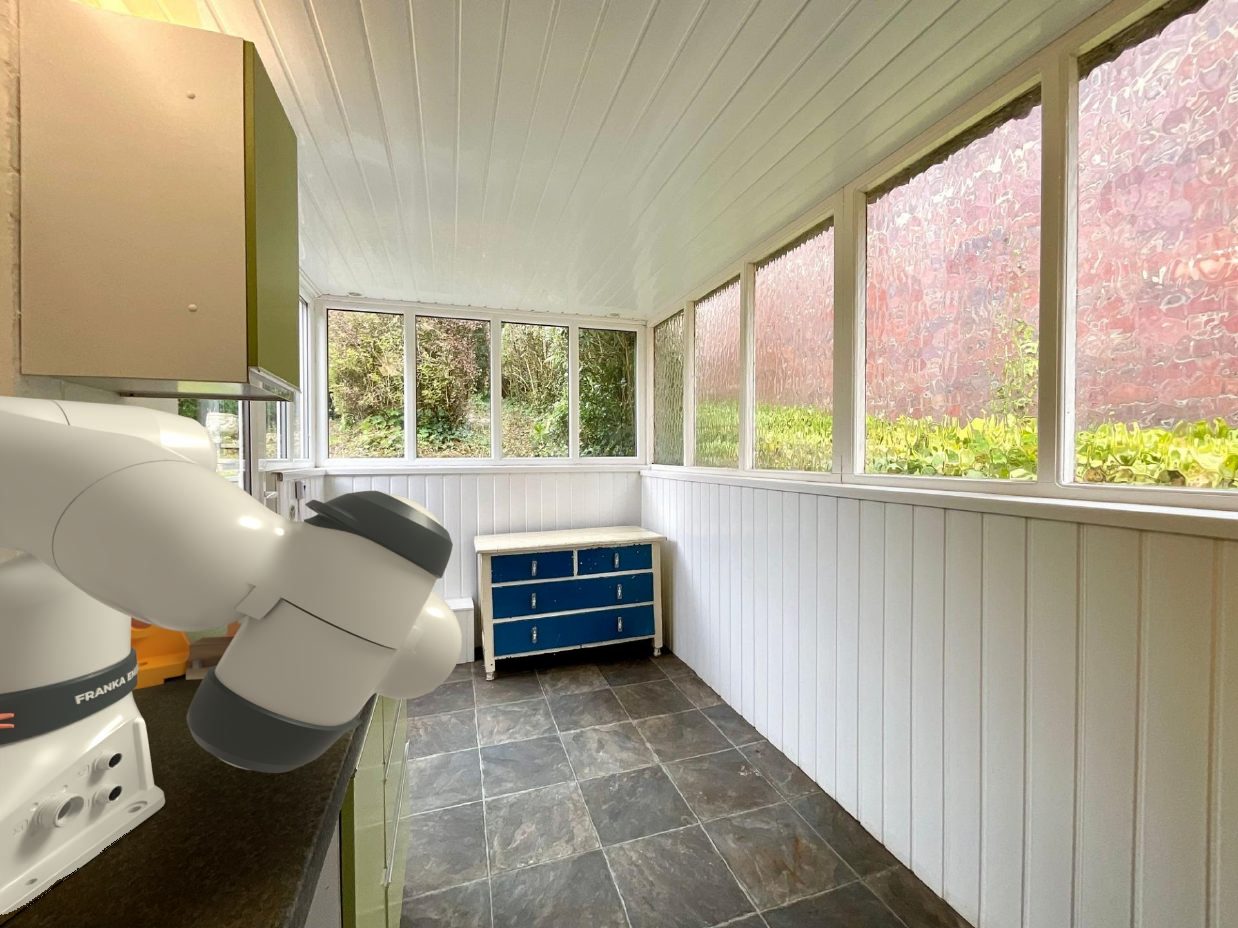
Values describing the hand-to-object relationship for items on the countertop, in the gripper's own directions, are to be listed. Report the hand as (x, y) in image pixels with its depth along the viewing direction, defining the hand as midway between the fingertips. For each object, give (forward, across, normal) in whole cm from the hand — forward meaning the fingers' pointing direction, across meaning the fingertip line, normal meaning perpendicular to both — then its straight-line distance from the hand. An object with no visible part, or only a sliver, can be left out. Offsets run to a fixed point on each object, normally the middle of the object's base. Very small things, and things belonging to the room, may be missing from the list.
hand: (241, 596), depth 80 cm
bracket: (+10, -6, -11) cm, 16 cm away
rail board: (-1, +6, -10) cm, 12 cm away
